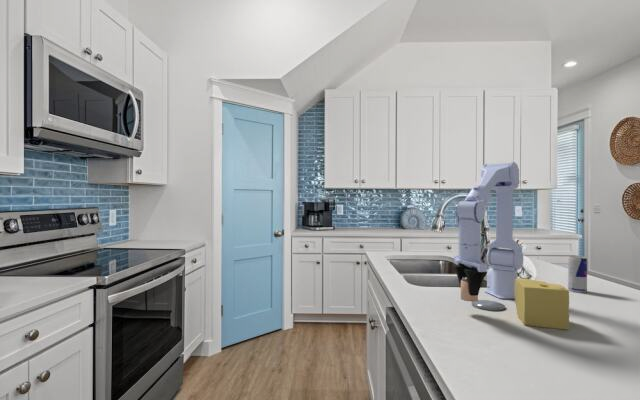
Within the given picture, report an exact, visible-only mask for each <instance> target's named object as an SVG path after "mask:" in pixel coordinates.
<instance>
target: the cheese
mask: <svg viewBox="0 0 640 400" xmlns="http://www.w3.org/2000/svg"><path fill="white" fill-rule="evenodd" d="M569 291H570V290H569V289H568V288H566V287H565V286H563V285H562V284H557V283H550V282H546V281H542V280H536V279H528V278H517V279H515V288H514V294H515V298H514V301H515V307H516V315H517V317H518V318H519V319H520V321H521V322H522V324H523V325H524V326H530V327H537V328H539V327H540V328H549V329H555V330H557V329H558V330H569V327H570V292H569Z"/></svg>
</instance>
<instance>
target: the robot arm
mask: <svg viewBox="0 0 640 400" xmlns="http://www.w3.org/2000/svg"><path fill="white" fill-rule="evenodd" d="M480 176H481V180H480V182H479V184H478V185H474V186H472V188H471V190H470V191H469V192H468V194H467V196H466V197H465V198H464V200H461V201H459V202H458V203H456V205H455V208H454V217H455V220H456V221H455V222H456V227H457V228H458V251H457V252H458V255H454V256H453V258H454V259H453V261H454V263H456V264H454V265H452V267H453V270H454V271H455V274H456V276H457V279H458V283H459V288H460V289H461V279H462V277H464V276H466V277H467V281H468V289H469V294H470V295H471V296H476V295H478V296H479V293H480V291H481V286H482V284H483V281H484V279H485V277H486V289H485V290H484V292H485V293H487V294H489V295H492V296H494V297H496V298H498V299H499V300H500V299H515V294H514V288H515V279H518V270H521V268H522V267H523V265H524V254H523V247H522V245H520V243H518V242H517V241H516V240H514V238H513V234H514V233H513V232H514V231H513V230H514V229H513V228H514V227H513V225H514V223H513V220H514V217H513V216H514V215H513V214H514V192H515V191H514V190H515V189H517V188H519V186H520V184H519V183H520V169H519V165H518V164H517V162H515V161H512V162H501V163H500V162H499V163H485V164H483V165H482V167H481V169H480ZM492 190H493V191H495V192H496V205H495V206H496V211H495V212H496V215H495V216H496V217H495V218H496V219H495V220H496V221H495V222H496V223H495V231H496V232H495V239H494V240H492V241H491V242H489V244H488V247H487V252H486V262H487V263H484V262H483V261H482V260H481V259H482V257H481V253H482V251H481V249H482V247H481V246H482V243H481V242H482V241H481V240H482V239H481V238H482V237H481V236H482V229H481V227H482V226H481V225H482V221H484V219H485V215H486V210H487V207H486V206H487V205H488V203H489V202H490V200H491V198H492V193H491V191H492ZM487 264H488V265H489V266H490V268H489V269H488V265H487Z"/></svg>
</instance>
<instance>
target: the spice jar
mask: <svg viewBox="0 0 640 400" xmlns="http://www.w3.org/2000/svg"><path fill="white" fill-rule="evenodd" d="M460 300H462V301H464V302H471V303H472V302H474V301H478V300H479V294H478V295H476V296H471V295H470V294H469V289H468V281H467V277H466V276H464V277H462V279H461V288H460Z"/></svg>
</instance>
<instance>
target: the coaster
mask: <svg viewBox="0 0 640 400" xmlns="http://www.w3.org/2000/svg"><path fill="white" fill-rule="evenodd" d="M471 306H472V307H474V308H475V309H476V308H477V309H480V310H482V311H488V312H489V311H490V312H500V311H504V310H506V305H505V304H503V303H501V302H499V301H494V300H489V299H478V301H474V302H471Z"/></svg>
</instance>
